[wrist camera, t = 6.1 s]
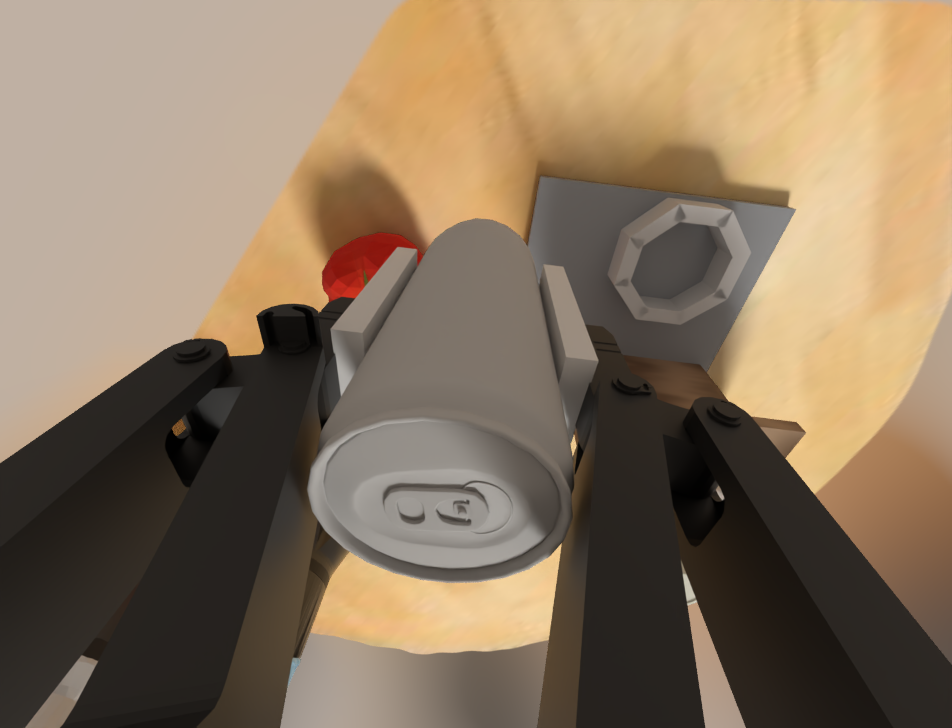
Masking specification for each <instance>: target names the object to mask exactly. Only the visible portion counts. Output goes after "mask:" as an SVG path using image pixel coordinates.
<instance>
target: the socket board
mask: <svg viewBox="0 0 952 728" xmlns="http://www.w3.org/2000/svg"><path fill="white" fill-rule="evenodd" d="M795 211H796V209H793V208H790V207H786V206H778V205H770V204H762V203H754V202H746V201H739V200H731V199H723V198H715V197H707V196H699V195H691V194H683V193H675V192H667V191H659V190H652V189H644V188H636V187H628V186H620V185H612V184H604V183H596V182H588V181H580V180H573V179H565V178H557V177H549V176H541V175H540V177H539V183H538V188H537V194H536V200H535V205H534V211H533V216H532V222H531V227H530V233H529V238H528V244H527V246H528V247H529V249H530V252H531V255H532V257H533V260H534V263H535V268H536V273H537V278H538V283H539V284H540V279H541V274H542V269H543V264H545V265H554V266H562V267H564V270H565V273H566V275H567V278H568V281H569V283H570V286H571V289H572V291H573V294H574V297H575V299H576V302H577V305H578V307H579V310H580V313H581V315H582V318H583V321H584V323H585V324H586V325H594V326H603V327H604V328H605V329H606V330H608V331H609V332H610V333H611V334H612V335H613V336H614V338H615V340H616V342H617V346H619V348H620V350H621V353H622V354H623V355H628V356H636V357H644V358H652V359H660V360H668V361H676V362H684V363H692V364H699V365H701V366H702V368H703V369H704V370H705V371H706V372H707V371H708V369H709V367H710V365H711V363H712V362H713V360H714V358H715V356H716V354H717V352H718V351H719V349H720V347H721V345H722V343H723V342H724V340H725V338H726V336H727V334H728V332H729V331H730V329H731V327H732V325H733V323H734V322H735V320H736V318H737V316H738V314H739V312H740V311H741V309H742V307H743V305H744V303H745V302H746V300H747V298H748V296H749V294H750V292H751V291H752V289H753V287H754V285H755V283H756V282H757V280H758V278H759V276H760V274H761V272H762V271H763V269H764V267H765V265H766V263H767V262H768V260H769V258H770V256H771V254H772V252H773V251H774V249H775V247H776V245H777V243H778V242H779V240H780V238H781V236H782V234H783V232H784V231H785V229H786V227H787V225H788V223H789V222H790V220H791V218H792V216H793V214H794V212H795Z"/></svg>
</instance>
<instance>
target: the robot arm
mask: <svg viewBox="0 0 952 728" xmlns="http://www.w3.org/2000/svg"><path fill="white" fill-rule="evenodd" d="M416 268H417V249H411V248H402V247H397V248H396V249H395V251H394V252H393V253H392V254H391V256H390V257H389V258H388V259H387V260H386V262H385V263H384V264H383V265H382V267H381V268H380V269H379V270H378V271H377V273H376V274H375V275H374V276H373V278H372V279H371V280H370V281H369V282H368V284H367V285H366V286H365V287H364V289H363V290H362V291H361V292H360V293H359V295H358V296H357V297H356V298H349V297H340V298H337V299H335V300H333V301H331V302H329V303H328V304H327V305H326V306H325V307H324V308H323V309H322V310H321V312H319V313H318V311H317V310H316V309H314V308H313V307H310V306H307V305H302V304H282V305H278V306H273V307H270V308H268V309H265V310H263V311H261V312H260V313H259V314H258V315H257V316H256V317H257V321H258V325H259V328H260V332H261V336H262V340H263V344H264V349H263V350H262V352H261V354H258V355H246V356H229V353H228V350H227V347H226V345H225V344H224V343H222V342H221V341H218V340H214V339H200V338H199V339H194V340H192V339H190V340H186V341H184V342H181V343H178V344H175V345H173V346H171V347H169V348H167V349H165V350H163V351H162V352H160V353H159V354H158V355H156V356H155V357H153V358H152V359H150V360H149V361H147V362H146V363H144V364H143V365H142V366H140V367H139V368H137V369H136V370H134V371H133V372H131V373H130V374H129V375H127V376H126V377H124V378H123V379H121V380H120V381H118V382H117V383H116V384H114V385H113V386H111V387H110V388H108V389H107V390H105V391H104V392H103V393H101V394H100V395H98V396H97V397H95V398H94V399H92V400H91V401H90V402H88V403H87V404H85V405H84V406H83V407H81V408H79V409H78V410H77V411H75V412H74V413H72V414H71V415H69V416H68V417H66V418H65V419H64V420H62V421H61V422H59V423H58V424H56V425H55V426H54V427H52V428H51V429H49V430H48V431H46V432H45V433H43V434H42V435H41V436H39V437H38V438H36V439H35V440H33V441H32V442H30V443H29V444H28V445H26V446H25V447H23V448H22V449H20V450H19V451H18V452H16V453H15V454H13V455H12V456H10V457H9V458H7V459H6V460H4V461H3V462H2V463H0V728H280V725H281V719H282V714H283V708H284V702H285V697H286V692H287V688H288V686H289V683H290V681H291V679H292V676H293V674H294V672H295V669H296V667H297V666H298V665H299V664H300V661H301V659H300V658H301V655H302V652H303V650H304V647H305V644H306V642H307V639H308V636H309V633H310V631H311V628H312V626H313V623H314V620H315V618H316V615H317V612H318V609H319V607H320V604H321V601H322V599H323V596H324V593H325V590H326V588H327V585H328V582H329V580H330V578H331V576H332V574H333V573H334V571H335V570H336V569H337V567H338V566H339V565H340V563H341V562H342V561H343V559H344V558H345V557H346V555H347V554H348V553H349V551H348V550H346V549H345V548H343V547H342V546H341V545H340V544H339V543H338V542H337V541H336V540H334V539H333V538H332V537H331V536H330V535H329V534H328V533H327V532H326V531H325V530H324V528H323V527H322V525H321V524H320V522H319V521H318V519H317V518H316V516H315V515H314V513H313V512H312V508H311V504H310V500H309V496H308V492H307V485H308V479H309V473H310V467H311V464H312V463H313V461H314V460H315V458H316V456H317V450H318V445H319V439H320V434H321V431H322V429H323V427H324V425H325V423H326V422H327V420H328V418H329V416H330V415H331V413H332V411H333V410H334V408H335V406H336V405H337V403H338V401H339V399H340V398H341V396H342V394H343V393H344V391H345V389H346V387H347V386H348V384H349V382H350V381H351V379H352V377H353V375H354V374H355V372H356V370H357V369H358V367H359V365H360V363H361V362H362V360H363V358H364V357H365V355H366V353H367V352H368V350H369V348H370V346H371V345H372V343H373V341H374V340H375V338H376V336H377V335H378V333H379V331H380V329H381V328H382V326H383V324H384V323H385V321H386V319H387V318H388V316H389V314H390V312H391V311H392V309H393V307H394V306H395V304H396V302H397V301H398V299H399V297H400V295H401V294H402V292H403V290H404V289H405V287H406V285H407V283H408V282H409V280H410V278H411V277H412V275H413V273H414V271H415V270H416ZM539 288H540V293H541V298H542V303H543V308H544V313H545V319H546V324H547V329H548V334H549V339H550V344H551V349H552V354H553V359H554V364H555V369H556V374H557V379H558V385H559V390H560V395H561V400H562V405H563V410H564V415H565V420H566V425H567V430H568V435H569V440H570V443H571V441H572V438H573V435H574V432H575V429H576V431H577V435H578V440H579V441H578V444H577V447H576V450H575V452H574V455H573V469H574V490H573V492H572V495H571V496H572V513H573V519H572V522H571V524H570V527H569V529H568V532H567V535H566V537H565V540H564V541H563V542H562V547H561V554H560V562H559V569H558V576H557V584H556V591H555V599H554V606H553V614H552V621H551V629H550V636H549V643H548V651H547V659H546V666H545V674H544V681H543V688H542V696H541V703H540V710H539V718H538V725H537V728H705V723H704V717H703V709H702V702H701V695H700V689H699V682H698V675H697V668H696V662H695V654H694V648H693V641H692V634H691V627H690V620H689V613H688V606H687V599H686V592H685V586H684V579H683V572H682V565H681V561H682V564H683V567H684V569H685V572H686V574H687V577H688V579H689V582H690V585H691V587H692V590H693V592H694V595H695V598H696V600H697V603H698V605H699V608H700V610H701V613H702V616H703V618H704V621H705V623H706V626H707V628H708V631H709V634H710V636H711V638H712V641H713V644H714V646H715V649H716V651H717V654H718V657H719V659H720V662H721V664H722V667H723V670H724V672H725V675H726V677H727V680H728V682H729V685H730V688H731V690H732V693H733V695H734V698H735V701H736V703H737V706H738V708H739V711H740V713H741V716H742V719H743V721H744V723H745V726H746V728H952V665H951V663H950V662H949V661H948V660H947V658H946V657H945V656H944V655H943V654H942V652H941V651H940V650H939V649H938V647H937V646H936V645H935V644H934V642H933V641H932V640H931V639H930V637H929V636H928V635H927V634H926V632H925V631H924V630H923V629H922V627H921V626H920V625H919V624H918V623H917V621H916V620H915V619H914V618H913V617H912V615H911V614H910V613H909V611H908V610H907V609H906V608H905V606H904V605H903V604H902V603H901V602H900V600H899V599H898V598H897V597H896V595H895V594H894V593H893V591H892V590H891V589H890V588H889V587H888V585H887V584H886V583H885V582H884V580H883V579H882V578H881V577H880V576H879V574H878V573H877V572H876V570H875V569H874V568H873V567H872V566H871V564H870V563H869V562H868V560H867V559H866V558H865V557H864V556H863V554H862V553H861V552H860V551H859V549H858V548H857V547H856V546H855V544H854V543H853V542H852V541H851V540H850V538H849V537H848V536H847V535H846V533H845V532H844V531H843V530H842V528H841V527H840V526H839V525H838V523H837V522H836V521H835V520H834V518H833V517H832V516H831V515H830V514H829V512H828V511H827V510H826V508H825V507H824V506H823V505H822V504H821V502H820V501H819V500H818V499H817V497H816V496H815V495H814V493H813V492H812V491H811V490H810V489H809V487H808V486H807V485H806V484H805V482H804V481H803V480H802V479H801V477H800V476H799V475H798V474H797V472H796V471H795V470H794V469H793V467H792V466H791V465H790V464H789V462H788V461H787V460H786V459H785V458H784V456H783V455H782V454H781V453H780V451H779V450H778V449H777V448H776V446H775V445H774V444H773V443H772V441H771V440H770V439H769V438H768V436H767V435H766V434H765V433H764V431H763V430H762V429H761V428H760V427H759V425H758V424H757V423H756V422H755V420H754V419H753V418H752V417H751V416H750V415H749V414H748V413H747V412H746V411H744V410H742V409H741V408H739V407H738V406H736V405H735V404H733V403H731V402H727V401H726V400H723V399H718V398H713V397H700V398H698V399H695V400H694V402H693V404H692V406H691V408H690V409H686V408H682V407H679V406H676V405H673V404H670V403H667V402H664V401H661V400H659V399H657V393H656V391H655V389H654V387H653V386H652V385H651V384H650V383H649V382H648V381H647V380H645V379H643V378H641V377H640V376H638V375H635V374H632V373H631V371H630V369H629V367H628V365H627V363H626V361H625V359H624V357H623V354H622V353H621V350H620V348H619V346H617V342H616V340H615V338H614V336H613V335H612V334H611V333H610V332H609V331H608V330H606V329H605V328H604V327H603V326H594V325H586V324H585V323H584V321H583V318H582V315H581V313H580V310H579V307H578V305H577V302H576V299H575V297H574V294H573V291H572V289H571V286H570V283H569V281H568V278H567V275H566V273H565V270H564V267H562V266H554V265H545V264H543V269H542V274H541V279H540V284H539ZM181 418H182V420H183V422H184V425H185V427H186V429H185V430H184V431H183V432H182V433H181V434H179V435H178V436H176V435H174V433H173V430H172V427H173V426H174V425H175V424H176V423H177V422H178V421H179V420H180V419H181ZM718 486H719V487H720V489H721V491H722V493H723V496H724V499H723V500H722V499H721V498H720V497H719V495H718V493H717V491H716V488H717V487H718Z"/></svg>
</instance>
